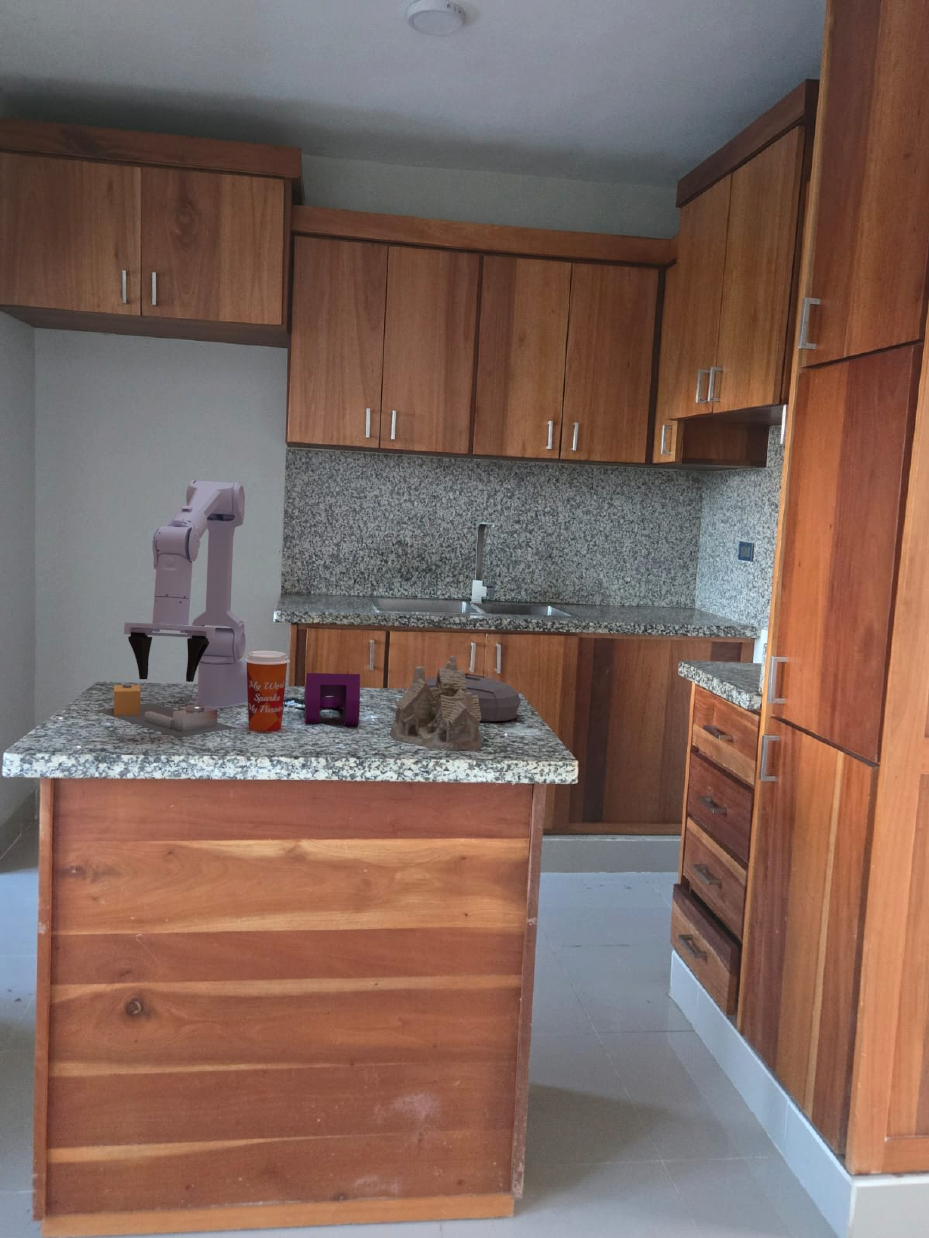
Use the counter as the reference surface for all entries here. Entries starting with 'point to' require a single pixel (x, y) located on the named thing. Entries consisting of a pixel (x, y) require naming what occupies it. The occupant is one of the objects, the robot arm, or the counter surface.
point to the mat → (173, 732)
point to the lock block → (126, 699)
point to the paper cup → (266, 689)
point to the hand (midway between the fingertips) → (166, 680)
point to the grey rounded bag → (490, 697)
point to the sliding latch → (185, 718)
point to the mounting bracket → (332, 685)
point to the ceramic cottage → (439, 712)
